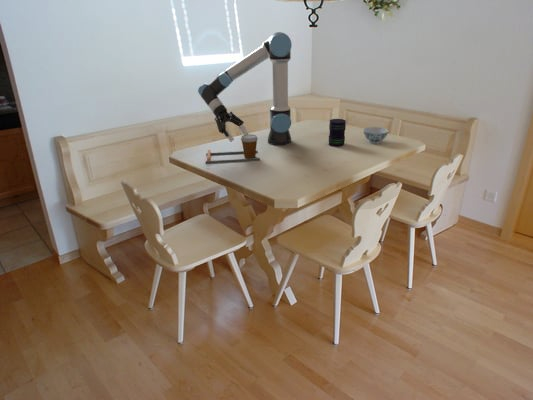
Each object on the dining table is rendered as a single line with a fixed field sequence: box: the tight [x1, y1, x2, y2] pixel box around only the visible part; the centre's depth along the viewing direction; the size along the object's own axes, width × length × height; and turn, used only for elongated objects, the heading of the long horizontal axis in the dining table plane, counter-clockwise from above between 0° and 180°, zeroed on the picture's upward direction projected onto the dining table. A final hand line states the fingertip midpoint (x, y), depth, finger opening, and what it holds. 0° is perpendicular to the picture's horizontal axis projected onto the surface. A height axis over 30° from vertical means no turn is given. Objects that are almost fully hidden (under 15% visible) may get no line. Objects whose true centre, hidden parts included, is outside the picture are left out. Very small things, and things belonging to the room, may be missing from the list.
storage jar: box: [328, 118, 347, 148], centre depth 241 cm, size 10×10×15 cm
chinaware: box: [363, 126, 389, 145], centre depth 246 cm, size 15×15×8 cm
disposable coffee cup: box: [240, 133, 259, 159], centre depth 223 cm, size 10×10×12 cm
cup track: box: [205, 149, 261, 164], centre depth 224 cm, size 30×15×3 cm, turn 96°
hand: (239, 137), depth 224 cm, fingers open, 13 cm apart
